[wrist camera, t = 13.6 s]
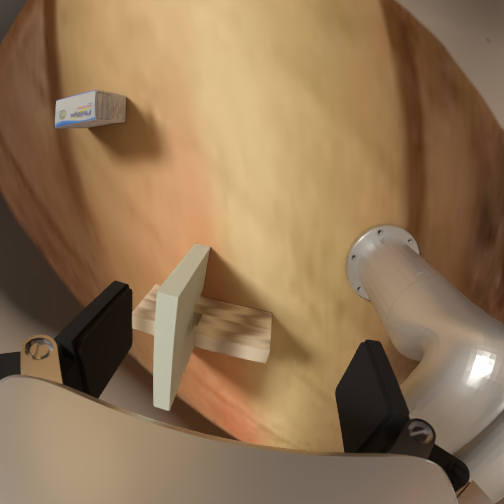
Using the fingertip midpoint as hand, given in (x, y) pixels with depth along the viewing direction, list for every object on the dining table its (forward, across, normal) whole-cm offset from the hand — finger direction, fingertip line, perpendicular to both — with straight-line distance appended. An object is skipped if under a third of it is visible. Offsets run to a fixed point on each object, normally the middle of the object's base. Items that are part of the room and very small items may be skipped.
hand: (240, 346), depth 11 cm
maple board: (+32, +5, +19) cm, 38 cm away
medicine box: (+33, +28, -9) cm, 44 cm away
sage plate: (+32, +8, +19) cm, 38 cm away
